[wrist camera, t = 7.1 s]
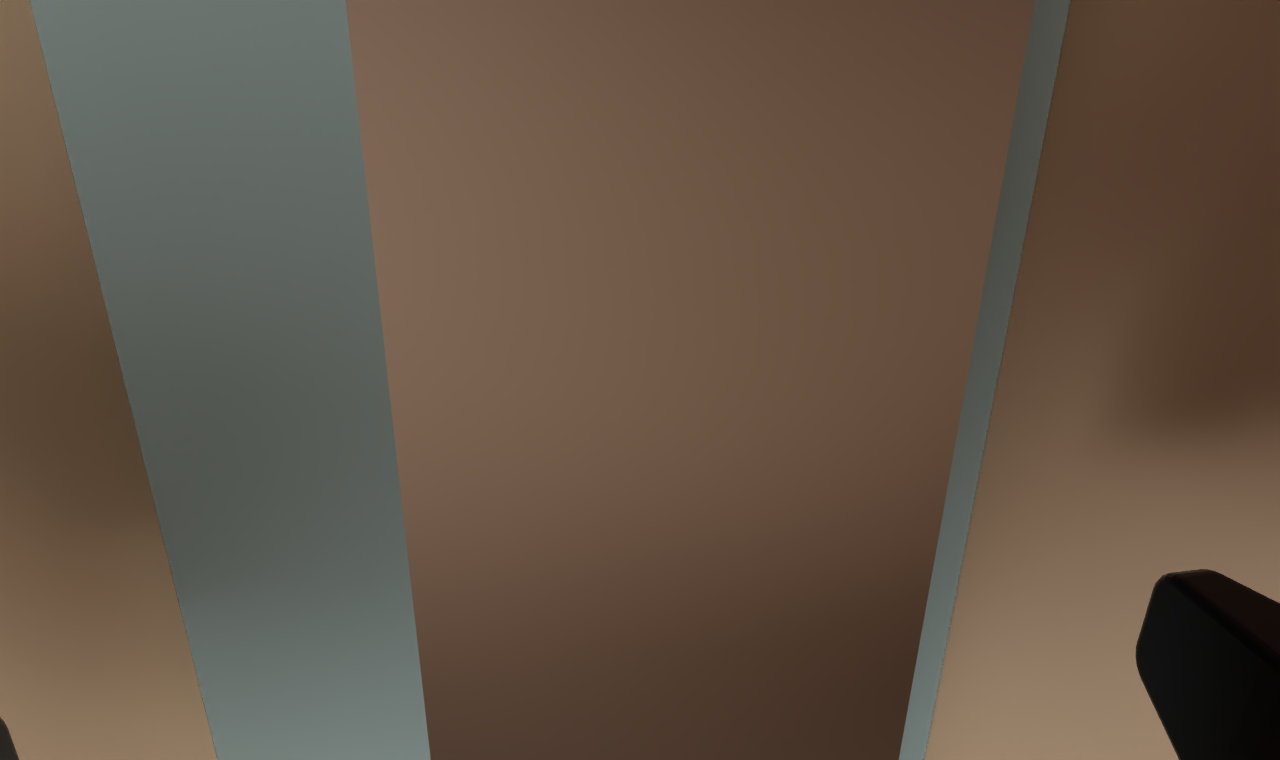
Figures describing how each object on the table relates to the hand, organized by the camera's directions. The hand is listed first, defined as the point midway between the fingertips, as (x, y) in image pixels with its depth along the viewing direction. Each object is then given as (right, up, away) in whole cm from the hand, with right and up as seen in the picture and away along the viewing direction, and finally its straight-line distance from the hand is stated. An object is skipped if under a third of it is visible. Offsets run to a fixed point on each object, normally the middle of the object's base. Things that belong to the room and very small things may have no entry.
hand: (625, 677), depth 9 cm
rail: (0, +1, +1) cm, 1 cm away
